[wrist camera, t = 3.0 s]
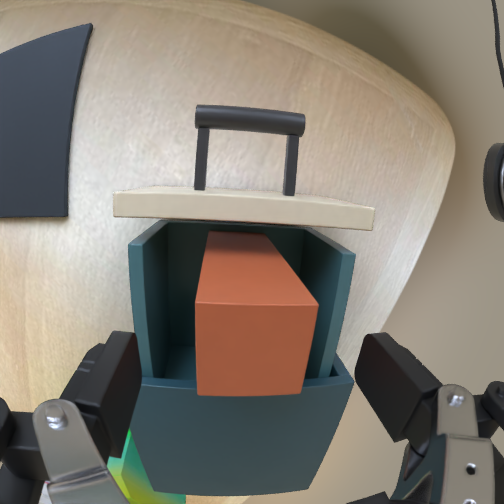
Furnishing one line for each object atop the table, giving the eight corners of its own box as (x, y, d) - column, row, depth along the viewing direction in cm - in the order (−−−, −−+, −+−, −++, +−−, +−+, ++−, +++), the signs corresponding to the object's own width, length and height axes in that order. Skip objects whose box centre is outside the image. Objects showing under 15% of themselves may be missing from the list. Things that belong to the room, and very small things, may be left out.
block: (208, 230, 20) (194, 302, 9) (264, 233, 21) (319, 304, 9) (207, 283, 21) (197, 395, 10) (260, 285, 22) (301, 394, 10)
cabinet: (149, 306, 23) (115, 380, 14) (309, 311, 25) (355, 381, 15) (164, 419, 27) (153, 491, 17) (287, 420, 29) (308, 489, 19)
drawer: (157, 121, 19) (121, 91, 11) (326, 134, 20) (382, 116, 12) (157, 344, 23) (137, 410, 15) (300, 347, 25) (329, 409, 17)
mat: (-1, 56, 14) (-4, 55, 14) (93, 25, 16) (91, 22, 15) (-20, 217, 19) (-24, 218, 18) (68, 215, 20) (64, 217, 20)
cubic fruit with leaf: (187, 460, 29) (185, 554, 15) (132, 469, 29) (119, 549, 15) (136, 413, 26) (110, 524, 12) (82, 425, 26) (49, 513, 12)
